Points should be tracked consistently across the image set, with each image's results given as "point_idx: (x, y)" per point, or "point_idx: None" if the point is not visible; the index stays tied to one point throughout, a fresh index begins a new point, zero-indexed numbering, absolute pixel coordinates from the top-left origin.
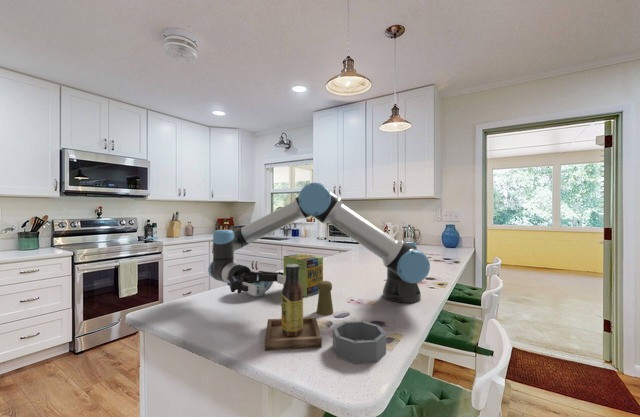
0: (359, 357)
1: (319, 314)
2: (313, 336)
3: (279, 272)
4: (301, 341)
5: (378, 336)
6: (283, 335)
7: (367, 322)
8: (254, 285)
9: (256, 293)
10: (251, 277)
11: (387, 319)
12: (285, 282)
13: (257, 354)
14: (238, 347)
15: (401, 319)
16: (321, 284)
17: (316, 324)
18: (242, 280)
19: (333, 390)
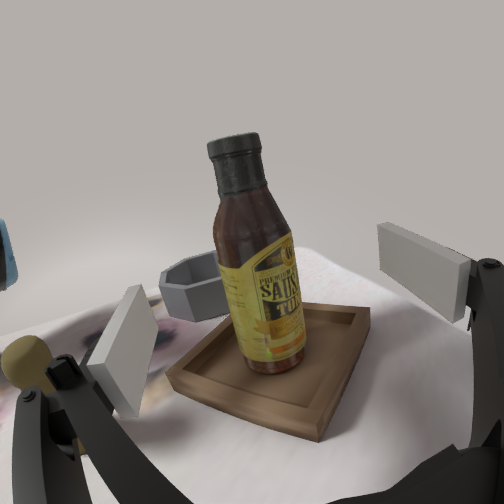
0: None
1: None
2: None
3: (68, 354)
4: None
5: (198, 256)
6: (305, 352)
7: (160, 280)
8: (388, 227)
9: (380, 261)
10: (387, 495)
11: (72, 340)
12: (269, 193)
13: (387, 320)
14: (432, 349)
15: (65, 332)
16: (37, 345)
17: (205, 339)
18: (489, 302)
19: (307, 257)
